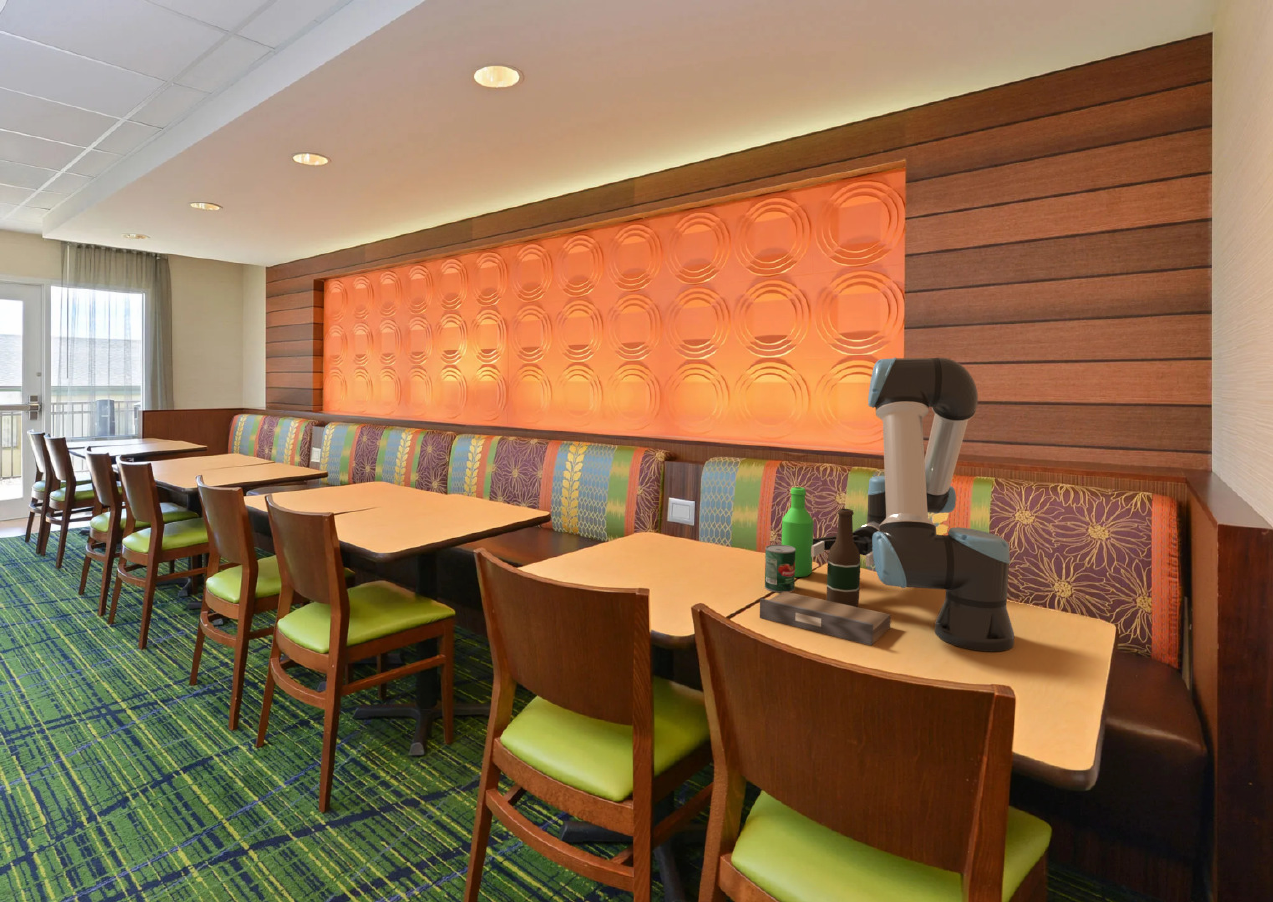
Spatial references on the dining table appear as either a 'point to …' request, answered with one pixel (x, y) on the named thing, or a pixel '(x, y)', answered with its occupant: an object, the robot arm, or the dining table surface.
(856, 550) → the beer bottle
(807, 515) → the bottle
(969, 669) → the dining table surface
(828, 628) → the shelf
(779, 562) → the canned tomato
